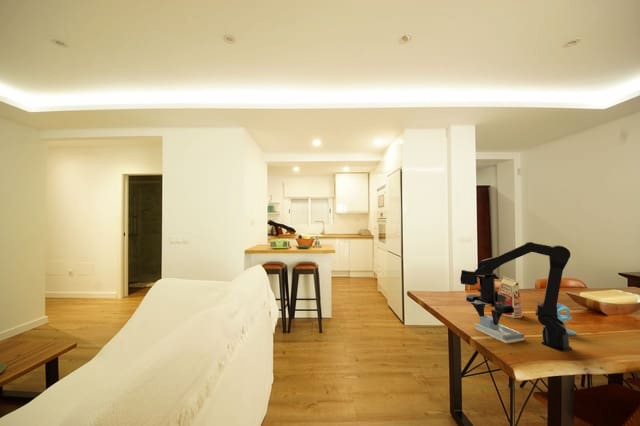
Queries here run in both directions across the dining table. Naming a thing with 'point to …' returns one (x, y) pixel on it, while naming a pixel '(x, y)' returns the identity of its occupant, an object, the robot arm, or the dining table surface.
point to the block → (488, 322)
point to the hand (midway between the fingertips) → (489, 322)
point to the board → (501, 333)
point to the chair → (564, 318)
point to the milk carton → (511, 296)
